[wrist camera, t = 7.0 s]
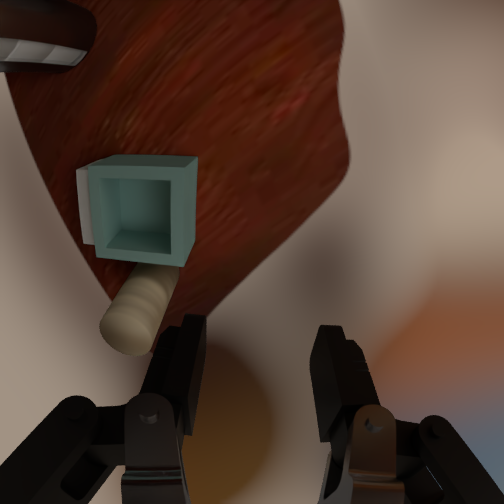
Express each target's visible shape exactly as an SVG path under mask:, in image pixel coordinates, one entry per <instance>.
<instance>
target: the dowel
mask: <svg viewBox="0 0 504 504" xmlns="http://www.w3.org/2000/svg"><path fill="white" fill-rule="evenodd" d="M179 274H180V272H179V267H178V266H170V265H161V264H152V263H143V262H138V263H137V265H136V266H135V268H134V269H133V271H132V272H131V274H130V275H129V277H128V278H127V280H126V281H125V283H124V284H123V286H122V287H121V289H120V291H119V292H118V294H117V295H116V297H115V298H114V300H113V302H112V303H111V305H110V307H109V308H108V310H107V311H106V313H105V315H104V316H103V318H102V320H101V321H100V326H99V327H100V332H101V334H102V337H103V338H104V340H105V341H106V342H107V343H108V344H109V345H110V346H111V347H112V348H114V349H115V350H117V351H119V352H121V353H123V354H126V355H130V356H140V355H144V354H146V353H147V352H149V350H150V349H151V346H152V344H153V341H154V339H155V336H156V333H157V331H158V328H159V326H160V323H161V321H162V318H163V315H164V313H165V310H166V308H167V305H168V303H169V300H170V298H171V296H172V293H173V291H174V288H175V286H176V283H177V281H178V279H179Z"/></svg>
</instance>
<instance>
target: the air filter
mask: <svg viewBox="0 0 504 504" xmlns="http://www.w3.org/2000/svg"><path fill="white" fill-rule="evenodd" d="M96 31H97V24H96V19H95V17H94V15H93V14H92V12H91V11H89V10H88V9H86V8H84V7H82V6H79V5H77V4H75V3H72V2H70V1H67V0H0V72H44V73H62V72H66V71H69V70H70V69H72V68H74V67H75V66H77V65H78V64H79V63H80V62H81V61H82V60H83V59H84V58H85V57H86V55H87V54H88V53H89V51H90V49H91V47H92V45H93V43H94V40H95V37H96Z"/></svg>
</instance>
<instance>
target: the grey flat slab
mask: <svg viewBox="0 0 504 504" xmlns="http://www.w3.org/2000/svg"><path fill="white" fill-rule="evenodd" d="M100 160H102V159H100ZM100 160H98V161H100ZM98 161H95V162H98ZM95 162H93V163H95ZM93 163H91V164H93ZM91 164H88V165H91ZM88 165H86V166H84V167H81V168H79V169H77V170H76V177H77V191H78V202H79V212H80V221H81V229H82V236H83V243H84V244H92V245H95V243H94V235H93V227H92V218H91V207H90V195H89V180H88Z"/></svg>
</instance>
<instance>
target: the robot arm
mask: <svg viewBox="0 0 504 504" xmlns="http://www.w3.org/2000/svg"><path fill="white" fill-rule="evenodd" d="M205 357H206V316H205V315H196V314H187V313H186V314H185V316H184V319H183V322H182V325H181V327H176V326H169V327H168V328H167V329H166V330H165V331H164V332H163V333H161V334H160V337H159V340H158V342H157V345H156V348H155V351H154V353H153V357H152V359H151V362H150V365H149V367H148V370H147V374H146V376H145V379H144V382H143V385H142V388H141V390H140V392H139V394H138V395H137V396H135V397H133V398H132V399H130V400H129V402H128V403H127V404H124V405H121V406H106V407H96V405H95V404H94V403H93V402H92V401H91V400H90V399H88V398H87V397H84V396H77V395H76V396H70V397H67V398H65V399H64V400H62V401H61V402H60V403H59V404H58V405H57V406H56V407H55V408H54V409H53V410H52V411H51V412H50V413H49V414H48V415H47V416H46V418H44V420H43V421H42V422H41V423H40V424H39V425H38V426H37V427H36V428H35V429H34V430H33V431H32V432H31V433H30V434H29V435H28V437H27V438H26V439H25V440H24V441H23V442H22V443H21V444H20V445H19V446H18V447H17V448H16V449H15V450H14V451H13V452H12V454H11V455H10V456H9V457H8V458H7V459H6V460H5V461H4V462H3V463H2V465H1V466H0V504H88V503H89V502H90V500H91V499H92V498H93V496H94V495H95V494H96V493H97V491H98V490H99V489H100V487H101V486H102V484H103V483H104V482H105V481H106V479H107V478H108V477H109V475H110V474H111V473H112V471H113V470H114V469H115V467H116V466H118V465H125V469H126V470H125V473H124V474H123V475H122V478H121V492H122V504H191V501H190V497H189V493H188V487H187V482H186V476H185V471H184V464H183V458H182V452H181V450H182V445H183V439H184V435H190V436H192V433H193V427H194V421H195V415H196V409H197V404H198V398H199V392H200V386H201V381H202V375H203V370H204V364H205ZM365 361H366V360H365V357H364V354H363V351H362V349H361V348H360V347H359V346H358V345H357V343H356V342H355V341H354V340H346V338H345V335H344V332H343V329H342V327H341V326H336V325H334V326H333V325H320V327H319V329H318V333H317V336H316V339H315V342H314V346H313V349H312V352H311V356H310V375H311V380H312V387H313V394H314V400H315V407H316V414H317V421H318V428H319V436H320V442H330V443H331V451H330V452H329V454H328V458H327V463H326V468H325V474H324V479H323V483H322V488H321V493H320V497H319V501H318V504H504V495H503V493H502V492H501V490H500V489H499V488H498V486H497V485H496V483H495V482H494V481H493V479H492V478H491V476H490V475H489V474H488V472H487V471H486V470H485V469H484V467H483V466H482V464H481V463H480V462H479V460H478V459H477V458H476V457H475V455H474V454H473V453H472V451H471V450H470V448H469V447H468V446H467V445H466V443H465V442H464V441H463V439H462V438H461V437H460V436H459V434H458V433H457V432H456V430H455V429H454V428H453V427H452V425H451V424H450V423H449V422H448V421H447V420H446V419H445V418H443V417H440V416H437V415H431V416H427V417H425V418H424V419H423V420H422V421H421V422H420V424H418V423H412V422H406V421H400V420H397V419H395V418H394V416H393V414H392V413H391V412H390V411H389V410H388V409H386V408H384V407H382V406H381V405H380V402H379V399H378V396H377V393H376V390H375V387H374V384H373V381H372V378H371V375H370V372H369V371H368V370H369V369H368V366H367V363H366V362H365ZM426 466H427V467H426ZM427 468H428V469H429V470H428V469H427ZM429 471H430V472H431V473H432V475H433V476H434V478H435V479H436V480H435V479H434V478H433V476H432V475H431V473H430V472H429ZM436 481H437V482H438V483H437V482H436ZM438 484H439V485H440V486H441V488H442V489H443V490H442V489H441V488H440V486H439V485H438Z"/></svg>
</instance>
